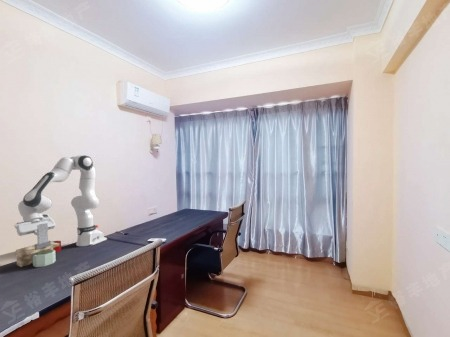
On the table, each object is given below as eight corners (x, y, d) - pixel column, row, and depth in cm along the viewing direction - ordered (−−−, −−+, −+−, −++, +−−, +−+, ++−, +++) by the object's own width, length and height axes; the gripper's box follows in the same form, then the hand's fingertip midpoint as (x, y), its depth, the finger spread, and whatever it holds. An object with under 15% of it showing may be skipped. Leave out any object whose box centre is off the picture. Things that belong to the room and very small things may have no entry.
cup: (49, 259, 155) (49, 248, 155) (58, 261, 150) (57, 250, 150) (30, 265, 146) (30, 254, 146) (39, 268, 141) (38, 256, 141)
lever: (54, 249, 176) (53, 240, 176) (64, 249, 174) (64, 240, 174) (30, 258, 158) (29, 248, 158) (41, 258, 156) (40, 249, 156)
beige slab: (48, 255, 162) (48, 241, 162) (59, 258, 156) (59, 243, 156) (16, 265, 146) (16, 249, 146) (27, 269, 140) (27, 252, 140)
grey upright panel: (49, 245, 152) (48, 222, 152) (50, 245, 152) (50, 222, 152) (34, 249, 145) (34, 225, 145) (36, 249, 144) (35, 225, 144)
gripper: (14, 220, 143) (23, 237, 139) (51, 214, 162) (60, 229, 157) (11, 226, 145) (19, 244, 141) (48, 219, 164) (56, 234, 159)
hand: (41, 236), depth 149 cm, fingers closed, pressing on grey upright panel
